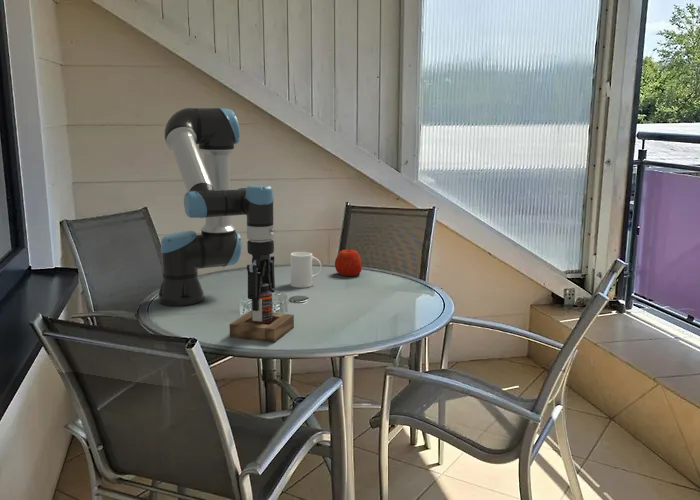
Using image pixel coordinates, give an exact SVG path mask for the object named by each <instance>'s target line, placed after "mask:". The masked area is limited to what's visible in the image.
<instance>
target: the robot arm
mask: <svg viewBox="0 0 700 500" xmlns="http://www.w3.org/2000/svg"><path fill="white" fill-rule="evenodd" d="M239 123H240V122H239V121H238V118H237V116H236V114H235V111H233V110H232V109H231V108H224V107H223V108H222V107H221V108H220V107H208V108H207V107H199V108H198V107H196V108H194V107H186V108H181V109H180V110H177V111H176V112H175V113H174V114H172V115H171V117H169V119H168V121H167V122H166V125H165V127H164V141H165V143H166V146H167V148H168V149H169V150H171V151H172V152H173V155H174V158H175V161H176V163H177V167H178V171H179V172H180V175H181V177H182V180H183V183H184V185H185V189H186V191H187V192H186V193H185V194H184V197H183V207H184V212H185V215H186V217H188V218H191V219H192V218H193V219H195V218H196V219H197V218H200V219H204V218H205V224H204V225H203V226H202V228H201V230H200V231H201V234H197V233H196V231H194V230H181V231H176V232H173V233H169V234H166V235H164V237H162V238H161V240H160V241H161V242H160V253H161V254H160V255H161V271H162V272H161V273H162V280H161V285H160V288H159V291H158V303H160V304H161V305H164V306H171V307H172V306H174V307H181V306H182V307H183V306H191V305H195V304H198V303H201V302H202V301H204V299H205V294H204V290H203V288H202V285H201V282H200V280H199V275H198V272H199V271H198V270H199V269H208V268H209V269H210V268H216V267H217V268H218V267H219V268H221V267H223V268H224V267H229V266H234V265H236V264H237V263H238V262H239V260H240V258H241V255H242V249H243V248H242V247H243V246H242V245H243V244H242V243H243V242H242V236H241V234H240V232H238V231H237V230H236V227H235V226H234V225H233V224H232V216H244V215H245V216H246V239H247V240H248V241H246V243H247V244H246V245H247V249H246V250H247V253H248V254H249V255H251V257H252V258H251V264H247V265H246V270H247V299H248V300H251V310H252V321H260V322H261V321H262V299H260V294H261V285H262V283H267V284H269V290H270V291H271V292H272V294H274V293H275V292H276V291H275V288H276V287H275V286H276V283H275V278H276V277H275V256H273V255H272V254H274V253H275V242H274V240H273V239H274V233H275V231H276V230H275V229H274V199H275V198H274V193H273V191H274V190H273V187H272V186H271V185H267V184H266V185H265V184H252V185H248V186H247V187H241V188H238V189H231V162H230V160H231V159H230V155H231V154H232V152H233V151H234V150H235V145H237V144H238V143H239V142H240V138H241V131H240V124H239ZM197 145H198V146H197ZM201 153H202V155H203V158H202V155H201Z"/></svg>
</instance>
